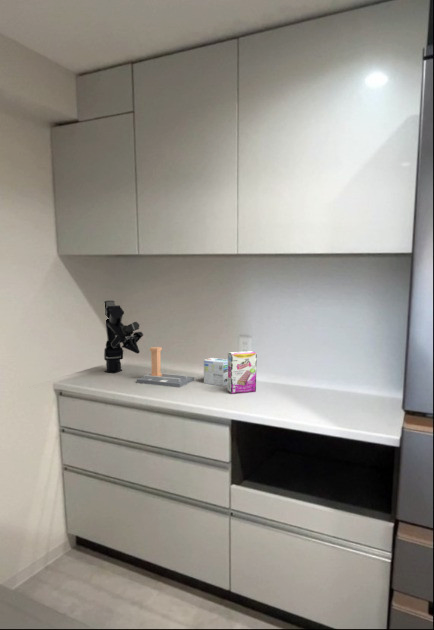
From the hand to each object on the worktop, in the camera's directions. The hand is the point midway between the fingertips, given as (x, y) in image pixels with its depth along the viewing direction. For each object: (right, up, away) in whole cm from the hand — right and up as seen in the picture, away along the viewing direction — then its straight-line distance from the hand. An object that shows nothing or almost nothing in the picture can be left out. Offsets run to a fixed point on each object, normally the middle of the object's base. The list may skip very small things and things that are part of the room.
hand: (138, 352), depth 201 cm
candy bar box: (+47, -14, -23) cm, 54 cm away
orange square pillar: (+9, -11, -3) cm, 14 cm away
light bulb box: (+37, -13, -8) cm, 40 cm away
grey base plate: (+13, -13, -5) cm, 19 cm away
